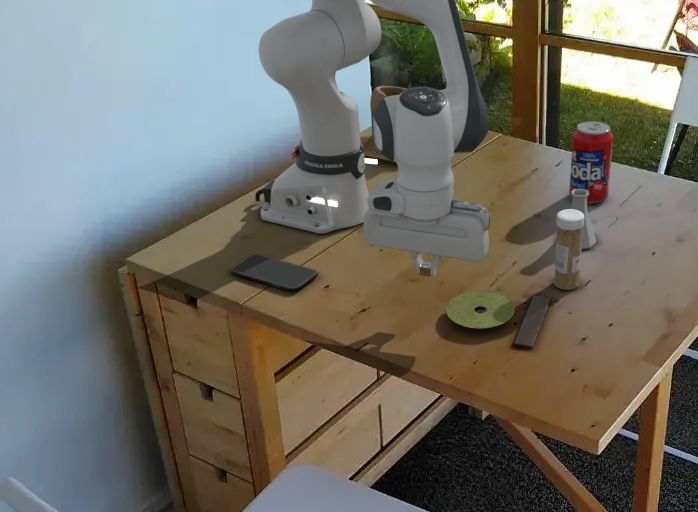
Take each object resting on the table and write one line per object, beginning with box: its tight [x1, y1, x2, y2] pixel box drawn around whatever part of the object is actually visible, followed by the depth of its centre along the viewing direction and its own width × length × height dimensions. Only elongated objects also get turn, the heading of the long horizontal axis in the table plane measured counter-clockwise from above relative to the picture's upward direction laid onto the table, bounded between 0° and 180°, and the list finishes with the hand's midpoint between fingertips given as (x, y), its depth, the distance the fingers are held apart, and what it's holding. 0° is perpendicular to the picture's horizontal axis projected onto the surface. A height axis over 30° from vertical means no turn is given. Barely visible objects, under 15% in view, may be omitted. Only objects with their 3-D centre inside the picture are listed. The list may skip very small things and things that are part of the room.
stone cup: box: [360, 85, 408, 163], centre depth 205 cm, size 15×12×15 cm
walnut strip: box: [513, 295, 552, 350], centre depth 153 cm, size 3×15×1 cm, turn 164°
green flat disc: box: [445, 290, 516, 329], centre depth 154 cm, size 11×11×2 cm
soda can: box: [568, 120, 614, 205], centre depth 186 cm, size 8×8×15 cm
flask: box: [570, 189, 597, 250], centre depth 172 cm, size 7×7×10 cm
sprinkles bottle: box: [553, 208, 584, 291], centre depth 159 cm, size 5×5×13 cm
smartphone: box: [230, 253, 319, 292], centre depth 167 cm, size 7×1×15 cm
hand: (426, 274), depth 153 cm, fingers closed
